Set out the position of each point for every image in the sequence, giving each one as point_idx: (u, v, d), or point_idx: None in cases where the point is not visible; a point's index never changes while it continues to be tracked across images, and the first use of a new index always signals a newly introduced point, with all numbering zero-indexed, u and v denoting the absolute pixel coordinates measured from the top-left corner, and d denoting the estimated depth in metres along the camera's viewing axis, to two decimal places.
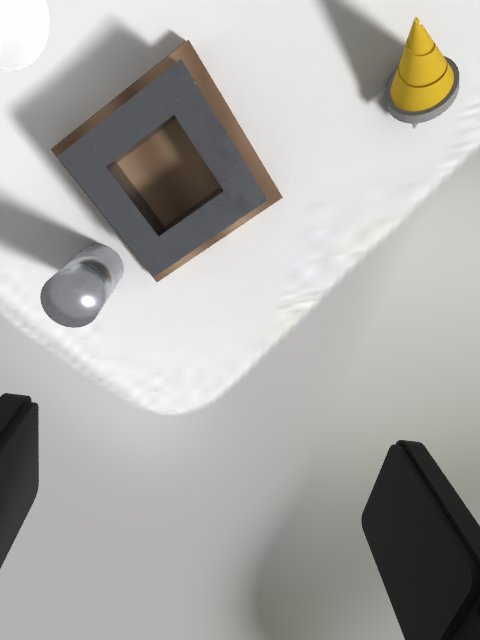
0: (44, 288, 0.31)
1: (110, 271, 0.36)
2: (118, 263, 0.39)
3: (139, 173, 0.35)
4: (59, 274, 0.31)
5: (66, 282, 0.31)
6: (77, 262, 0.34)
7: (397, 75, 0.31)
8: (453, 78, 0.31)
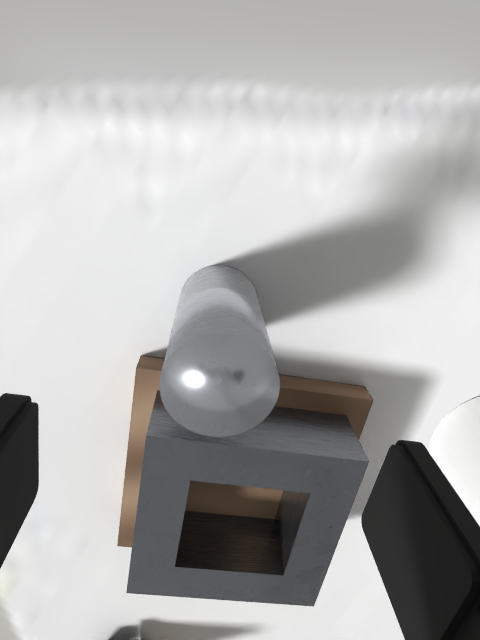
0: (274, 375, 0.15)
1: None
2: None
3: None
4: None
5: (250, 411, 0.16)
6: None
7: None
8: None
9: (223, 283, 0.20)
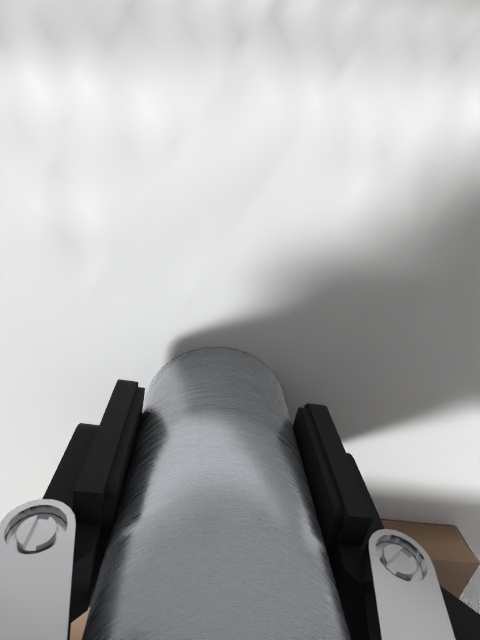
0: None
1: None
2: None
3: None
4: None
5: None
6: None
7: None
8: None
9: (223, 414, 0.09)
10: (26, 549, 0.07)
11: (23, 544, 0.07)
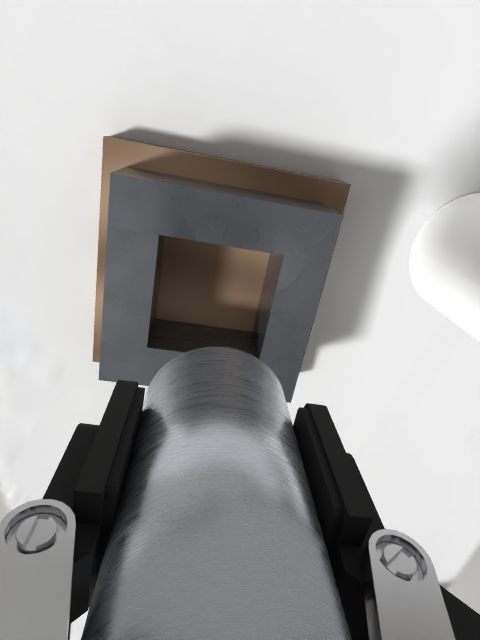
0: None
1: None
2: None
3: (243, 249, 0.25)
4: None
5: None
6: None
7: None
8: None
9: (223, 413, 0.09)
10: (26, 549, 0.07)
11: (23, 544, 0.07)
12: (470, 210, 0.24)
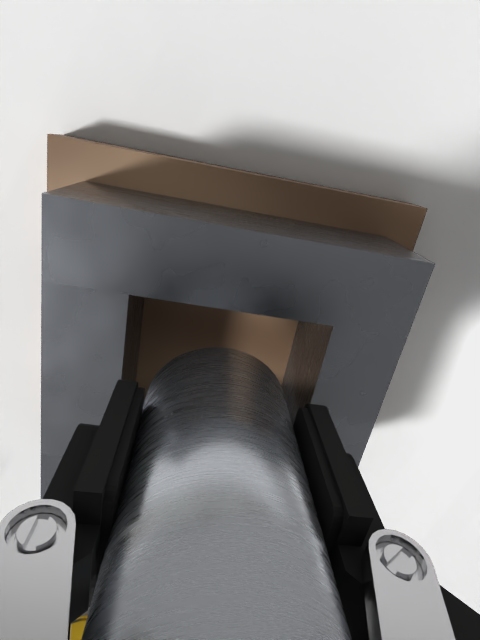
0: None
1: None
2: None
3: None
4: None
5: None
6: None
7: None
8: None
9: (224, 414, 0.09)
10: (26, 549, 0.07)
11: (23, 544, 0.07)
12: None
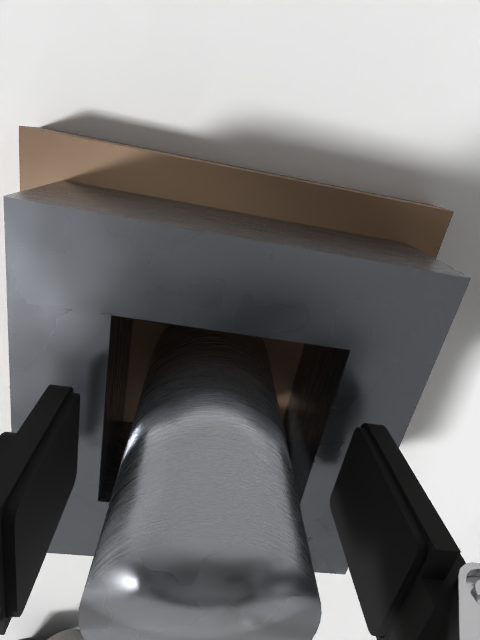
0: (312, 603, 0.07)
1: None
2: None
3: None
4: None
5: None
6: None
7: None
8: None
9: (215, 358, 0.12)
10: None
11: None
12: None
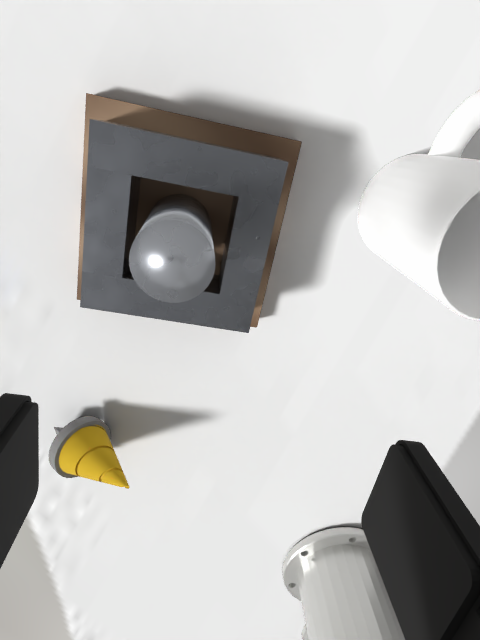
0: (211, 255, 0.21)
1: None
2: None
3: (208, 198, 0.29)
4: None
5: (194, 283, 0.22)
6: None
7: (103, 443, 0.35)
8: (70, 473, 0.35)
9: (181, 201, 0.26)
10: None
11: None
12: (404, 165, 0.27)
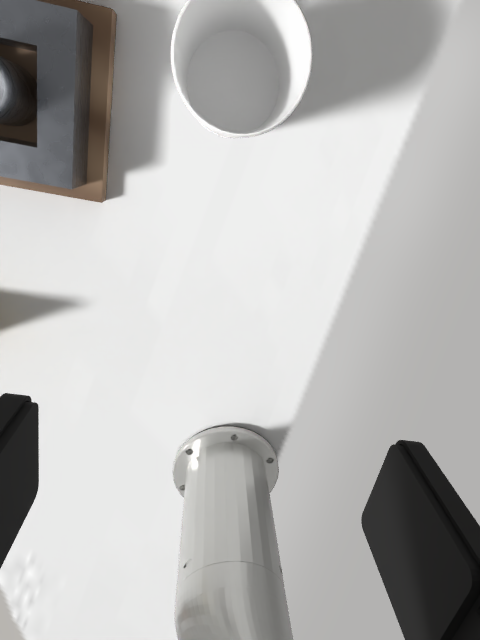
0: None
1: None
2: None
3: (34, 67, 0.31)
4: None
5: None
6: (0, 111, 0.27)
7: None
8: None
9: None
10: None
11: None
12: None
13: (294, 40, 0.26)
